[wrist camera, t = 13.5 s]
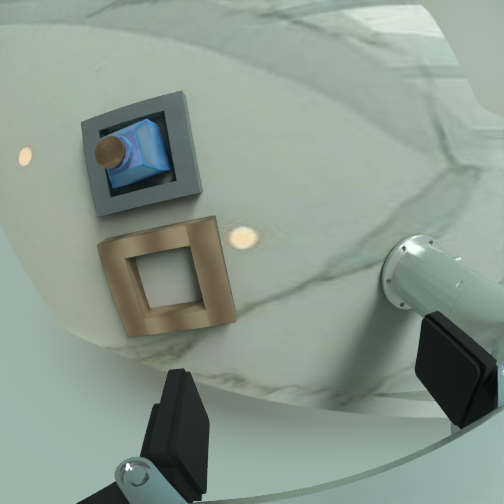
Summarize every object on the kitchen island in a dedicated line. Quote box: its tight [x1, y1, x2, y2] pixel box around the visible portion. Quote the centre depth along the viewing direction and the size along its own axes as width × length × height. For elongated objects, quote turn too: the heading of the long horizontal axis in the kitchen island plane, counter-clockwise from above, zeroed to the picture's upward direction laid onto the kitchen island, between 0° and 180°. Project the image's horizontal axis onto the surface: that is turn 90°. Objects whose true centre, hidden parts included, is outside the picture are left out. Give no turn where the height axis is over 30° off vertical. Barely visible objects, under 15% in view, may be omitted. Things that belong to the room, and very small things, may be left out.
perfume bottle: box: [95, 119, 172, 188], centre depth 30 cm, size 6×6×12 cm
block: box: [81, 91, 203, 217], centre depth 34 cm, size 14×13×3 cm
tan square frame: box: [97, 216, 236, 337], centre depth 39 cm, size 16×14×4 cm
